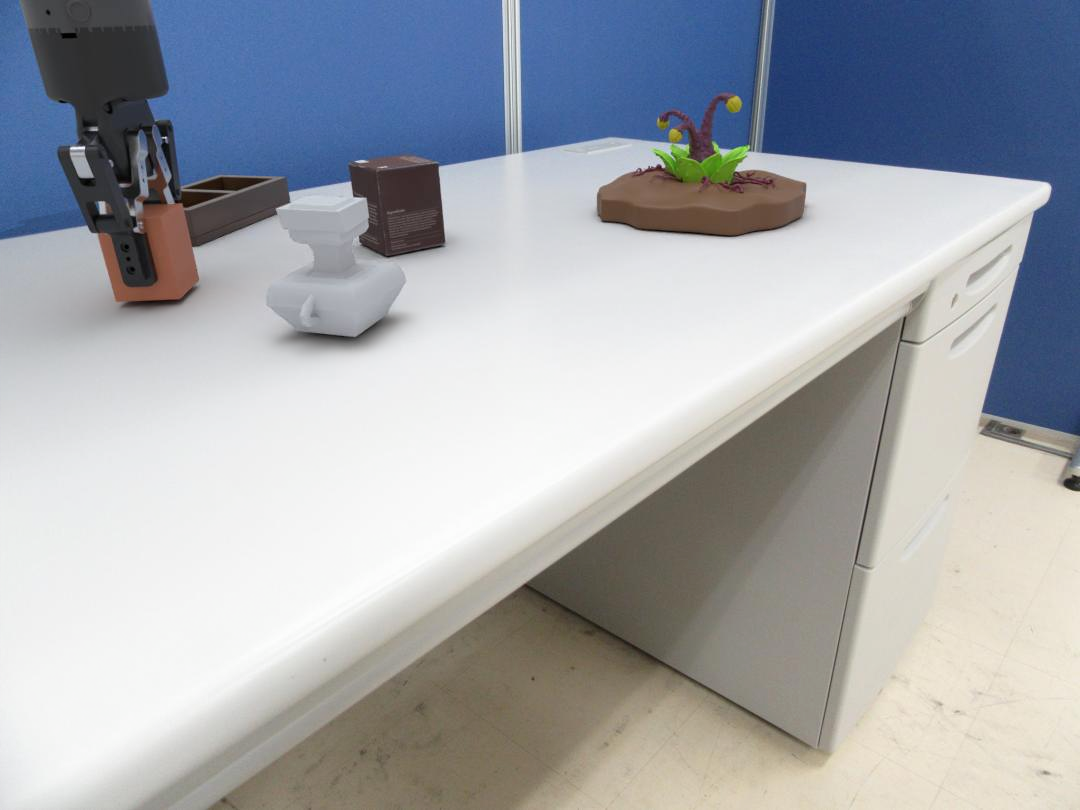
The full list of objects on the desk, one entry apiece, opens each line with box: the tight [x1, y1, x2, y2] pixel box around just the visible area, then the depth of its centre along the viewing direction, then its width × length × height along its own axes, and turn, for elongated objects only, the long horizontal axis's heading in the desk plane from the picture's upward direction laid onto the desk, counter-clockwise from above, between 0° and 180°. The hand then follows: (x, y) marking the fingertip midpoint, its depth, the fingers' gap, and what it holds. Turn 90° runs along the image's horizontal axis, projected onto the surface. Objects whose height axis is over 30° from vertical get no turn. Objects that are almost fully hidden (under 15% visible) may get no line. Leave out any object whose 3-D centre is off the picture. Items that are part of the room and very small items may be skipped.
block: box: [96, 203, 200, 303], centre depth 58 cm, size 5×5×6 cm
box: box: [347, 153, 446, 257], centre depth 70 cm, size 6×6×7 cm
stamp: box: [265, 195, 407, 338], centre depth 51 cm, size 9×7×8 cm
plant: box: [596, 92, 808, 237], centre depth 78 cm, size 20×20×11 cm
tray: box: [126, 174, 291, 247], centre depth 80 cm, size 8×16×3 cm, turn 164°
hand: (154, 273), depth 59 cm, fingers closed on block, 4 cm apart
